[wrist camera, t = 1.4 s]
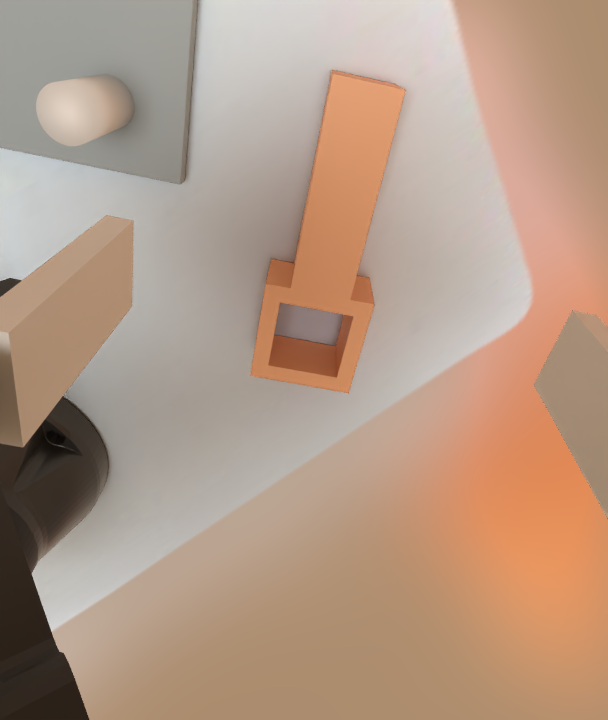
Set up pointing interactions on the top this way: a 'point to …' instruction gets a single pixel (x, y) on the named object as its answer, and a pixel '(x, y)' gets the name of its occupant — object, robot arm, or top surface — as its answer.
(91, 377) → the top surface
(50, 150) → the board
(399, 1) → the top surface
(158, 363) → the top surface
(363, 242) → the link
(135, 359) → the top surface
